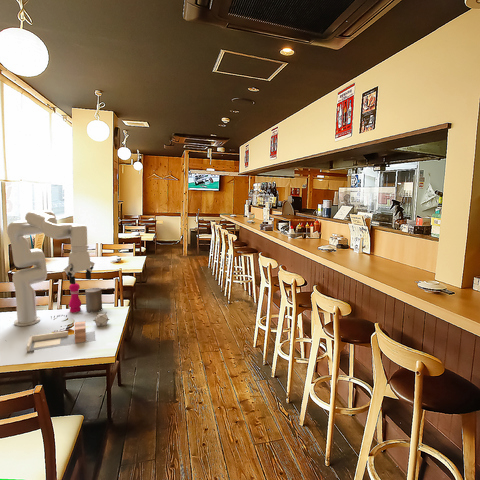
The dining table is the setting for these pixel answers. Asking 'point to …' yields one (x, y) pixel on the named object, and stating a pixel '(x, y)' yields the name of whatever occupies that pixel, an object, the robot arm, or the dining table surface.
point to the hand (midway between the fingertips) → (80, 281)
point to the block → (80, 332)
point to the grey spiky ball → (101, 319)
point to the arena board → (55, 340)
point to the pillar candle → (93, 299)
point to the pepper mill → (74, 298)
